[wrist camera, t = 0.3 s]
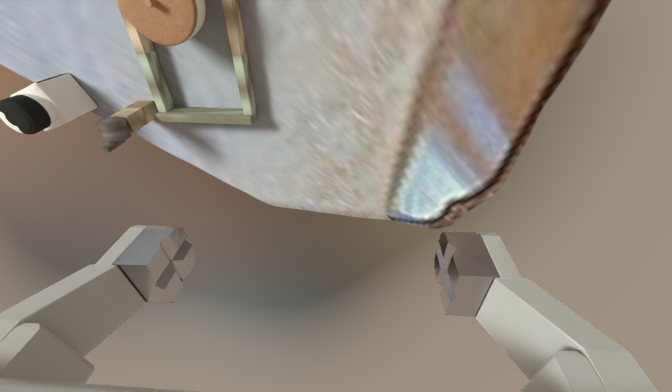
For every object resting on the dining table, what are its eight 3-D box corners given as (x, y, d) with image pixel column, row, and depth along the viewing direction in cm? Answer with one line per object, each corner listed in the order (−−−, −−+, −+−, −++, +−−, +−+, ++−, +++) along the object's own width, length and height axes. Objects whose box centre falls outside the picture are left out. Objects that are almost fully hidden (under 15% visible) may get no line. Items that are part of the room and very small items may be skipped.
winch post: (136, 100, 56) (82, 128, 45) (155, 101, 56) (106, 129, 45) (144, 120, 58) (95, 151, 48) (163, 120, 58) (118, 152, 47)
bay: (114, -42, 43) (94, -44, 39) (231, -42, 42) (220, -44, 38) (169, 113, 57) (158, 121, 54) (257, 116, 56) (251, 124, 53)
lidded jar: (220, 42, 49) (194, 54, 41) (157, 31, 48) (119, 40, 41) (212, -38, 42) (180, -41, 35) (140, -51, 42) (91, -58, 34)
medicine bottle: (69, 71, 53) (5, 91, 44) (99, 107, 57) (47, 132, 48) (44, 84, 55) (-22, 106, 46) (75, 117, 59) (20, 144, 50)
